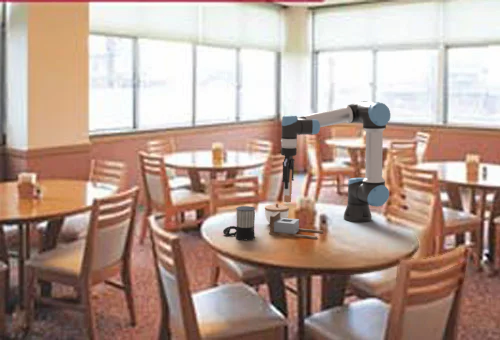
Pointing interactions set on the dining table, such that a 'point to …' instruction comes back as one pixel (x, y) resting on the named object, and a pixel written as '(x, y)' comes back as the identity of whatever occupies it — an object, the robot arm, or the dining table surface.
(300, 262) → the dining table surface
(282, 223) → the block
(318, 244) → the dining table surface
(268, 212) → the lidded bowl
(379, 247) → the dining table surface
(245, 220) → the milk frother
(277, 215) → the track
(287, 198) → the dowel
